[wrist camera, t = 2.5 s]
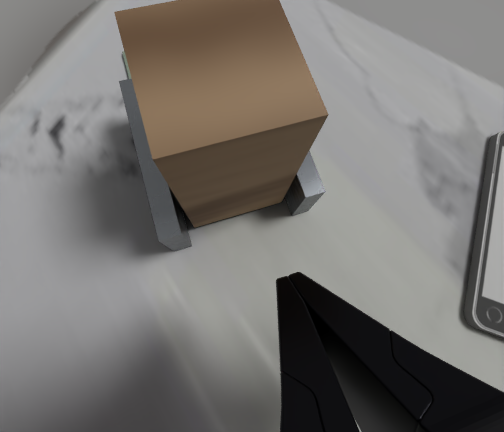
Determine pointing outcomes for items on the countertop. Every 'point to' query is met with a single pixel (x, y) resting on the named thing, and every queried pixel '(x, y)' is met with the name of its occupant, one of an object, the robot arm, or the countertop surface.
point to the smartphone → (489, 249)
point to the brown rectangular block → (222, 101)
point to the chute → (164, 201)
